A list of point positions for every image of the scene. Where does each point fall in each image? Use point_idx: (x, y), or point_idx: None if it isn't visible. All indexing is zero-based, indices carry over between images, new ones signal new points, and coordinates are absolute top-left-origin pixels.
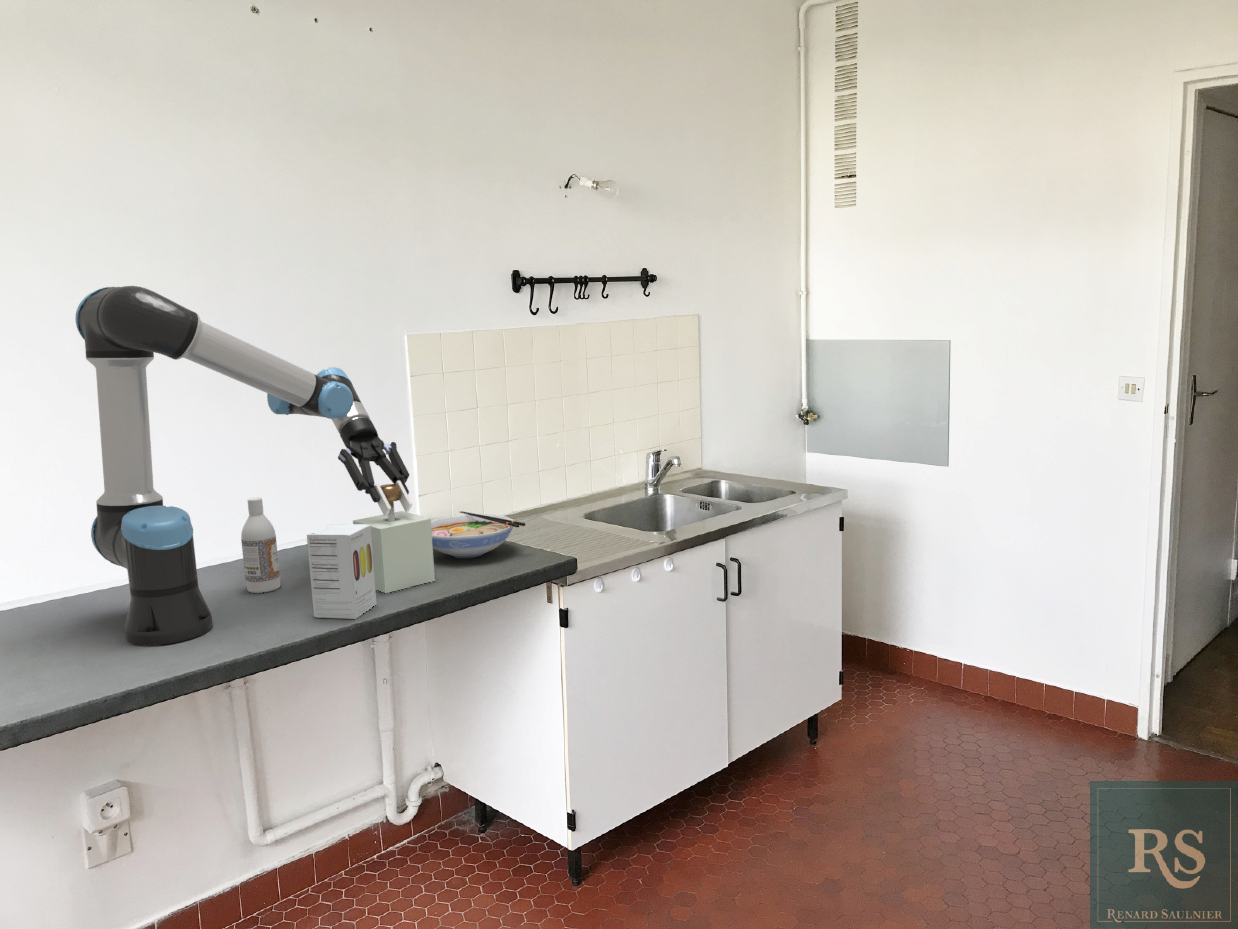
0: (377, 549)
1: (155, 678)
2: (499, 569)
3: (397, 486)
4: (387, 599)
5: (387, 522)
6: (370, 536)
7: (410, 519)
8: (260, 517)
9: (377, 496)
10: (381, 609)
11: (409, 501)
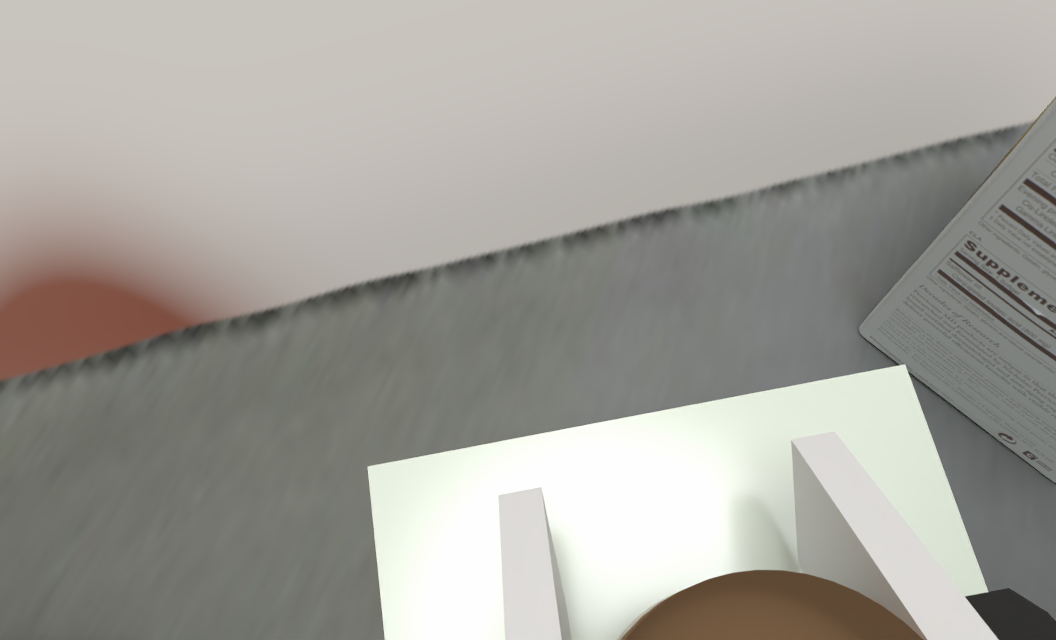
0: None
1: None
2: (86, 529)
3: (659, 613)
4: (786, 385)
5: None
6: (1044, 114)
7: None
8: None
9: (1000, 622)
10: (849, 254)
11: (524, 517)
